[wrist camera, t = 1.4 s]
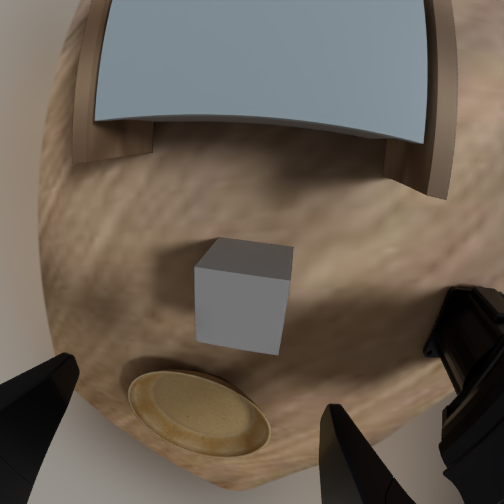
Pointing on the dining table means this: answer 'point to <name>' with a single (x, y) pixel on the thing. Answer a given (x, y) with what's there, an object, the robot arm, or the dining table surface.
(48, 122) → the dining table surface
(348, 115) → the trapdoor
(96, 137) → the frame
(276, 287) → the grey cube
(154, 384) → the plant saucer
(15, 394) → the robot arm
